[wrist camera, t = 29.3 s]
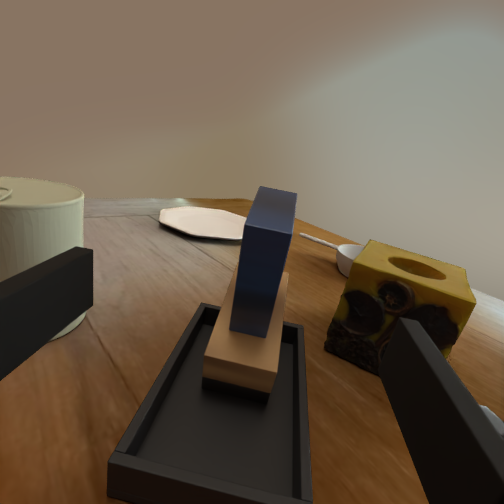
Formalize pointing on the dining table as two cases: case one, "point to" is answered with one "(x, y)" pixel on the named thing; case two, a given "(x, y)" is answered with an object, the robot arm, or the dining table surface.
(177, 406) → the tray
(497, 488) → the robot arm
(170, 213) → the plate
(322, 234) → the dining table surface
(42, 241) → the can
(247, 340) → the blue block with base
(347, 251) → the small pan
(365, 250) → the candle
